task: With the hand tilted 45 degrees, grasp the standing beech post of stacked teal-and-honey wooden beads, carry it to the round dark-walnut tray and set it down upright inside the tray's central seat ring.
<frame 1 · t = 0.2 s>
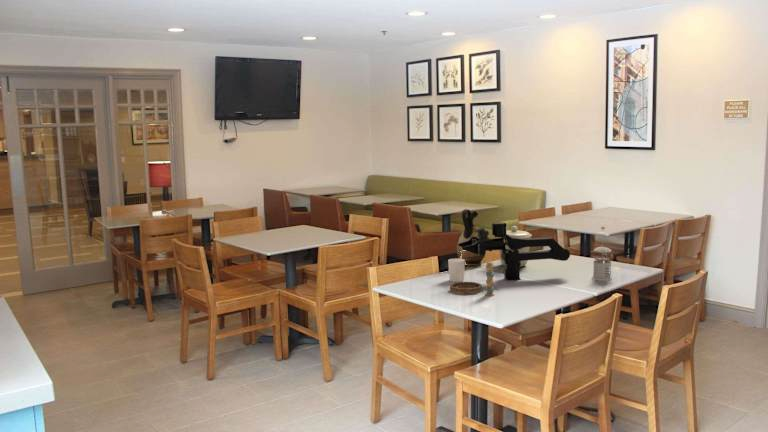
hand: (460, 246, 317), 17 cm above the table, tool horizontal, fingers open, 9 cm apart
french press: (602, 278, 318), on the table
white cup: (456, 280, 320), on the table
canister: (513, 265, 352), on the table
groove tray: (465, 290, 300), on the table
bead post: (489, 294, 292), on the table
ceramic jug: (470, 264, 357), on the table
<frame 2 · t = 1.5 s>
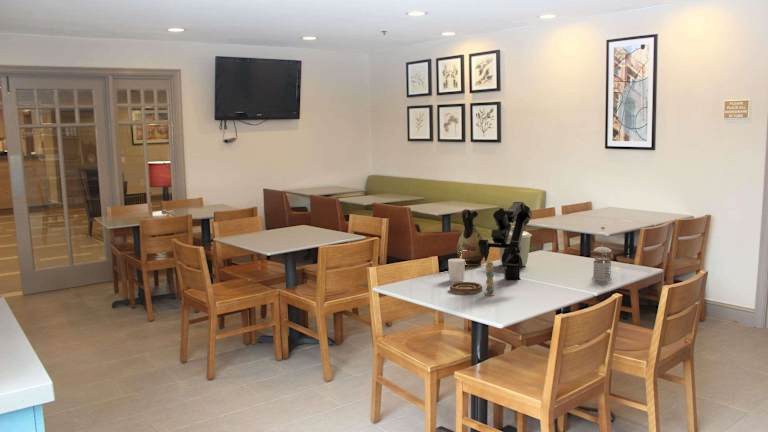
hand: (495, 261, 297), 13 cm above the table, tool tilted 45°, fingers open, 9 cm apart
nothing on the table moved.
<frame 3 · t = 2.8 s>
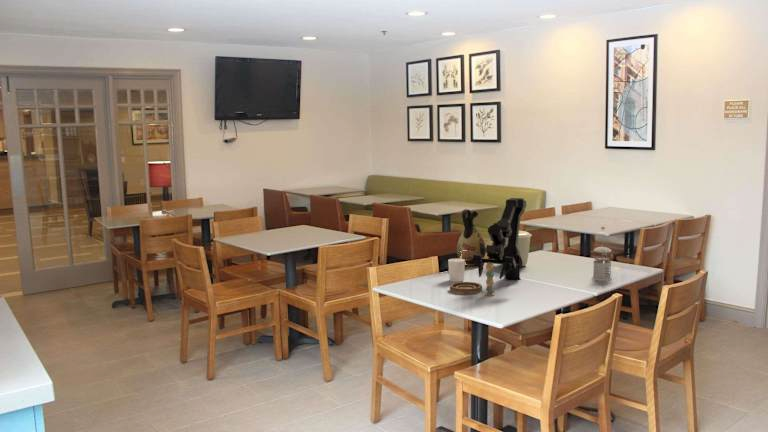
hand: (489, 277, 290), 8 cm above the table, tool tilted 45°, fingers open, 9 cm apart
nothing on the table moved.
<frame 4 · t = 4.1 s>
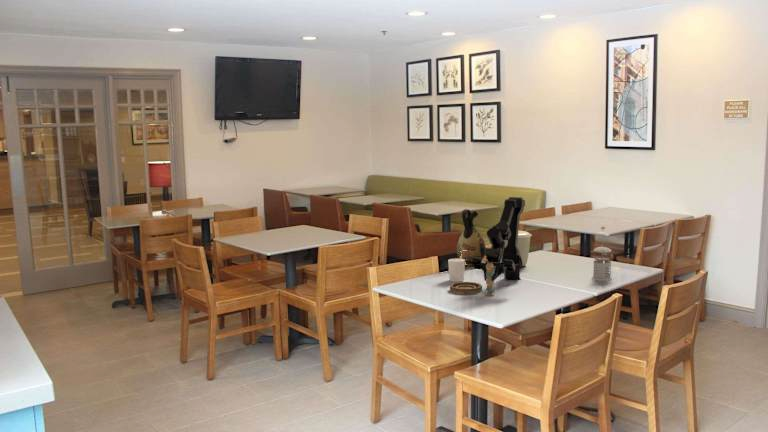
hand: (488, 280, 290), 7 cm above the table, tool tilted 45°, fingers closed on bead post, 3 cm apart
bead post: (489, 294, 292), on the table, touching gripper
everything else where it was.
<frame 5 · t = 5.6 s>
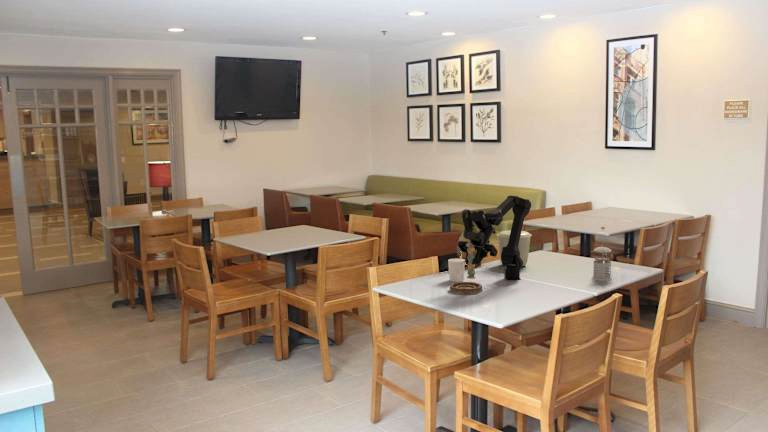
hand: (469, 263, 295), 13 cm above the table, tool tilted 45°, fingers closed on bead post, 3 cm apart
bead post: (471, 277, 297), point 6 cm above the table, touching gripper
everything else where it was.
when the fingers open (8 cm above the table, at t = 7.2 s): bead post stays where it is, resting on groove tray.
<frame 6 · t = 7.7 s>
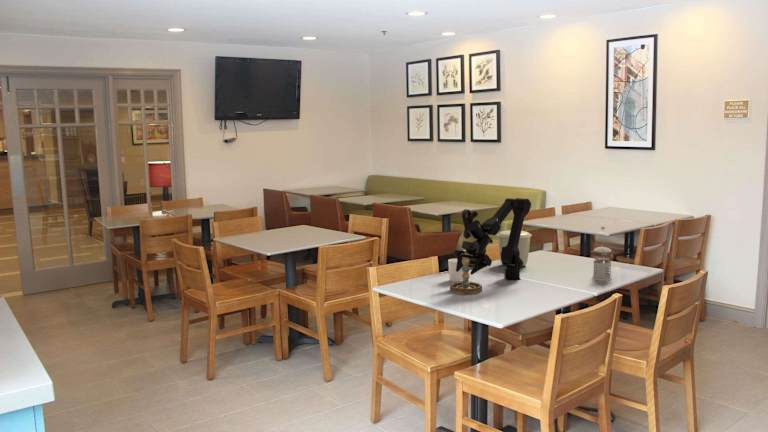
hand: (463, 272, 298), 8 cm above the table, tool tilted 45°, fingers open, 8 cm apart
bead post: (465, 288, 300), point 1 cm above the table, touching groove tray
everything else where it was.
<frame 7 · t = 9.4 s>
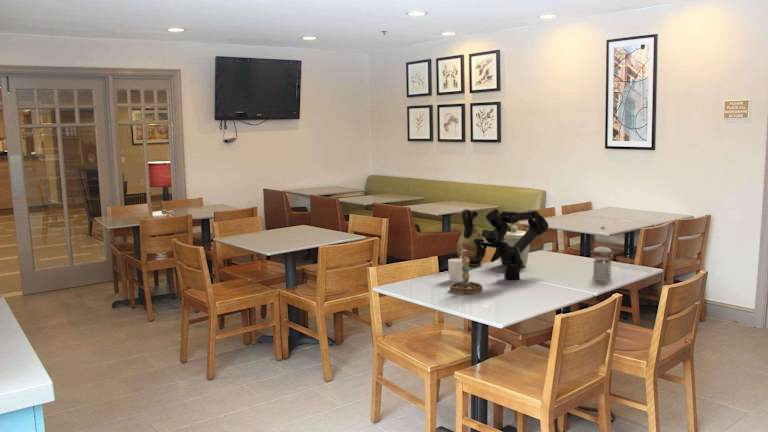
hand: (483, 260, 306), 12 cm above the table, tool tilted 45°, fingers open, 9 cm apart
nothing on the table moved.
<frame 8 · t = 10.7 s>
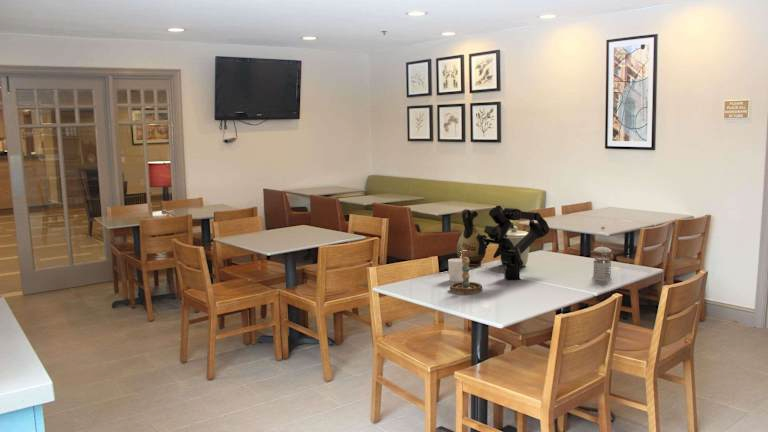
hand: (486, 256, 307), 14 cm above the table, tool tilted 45°, fingers open, 9 cm apart
nothing on the table moved.
at the end: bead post 0.0 cm off-centre on the groove tray, point 0.8 cm above the groove tray's base; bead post tilted 0°; the gripper is holding nothing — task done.
